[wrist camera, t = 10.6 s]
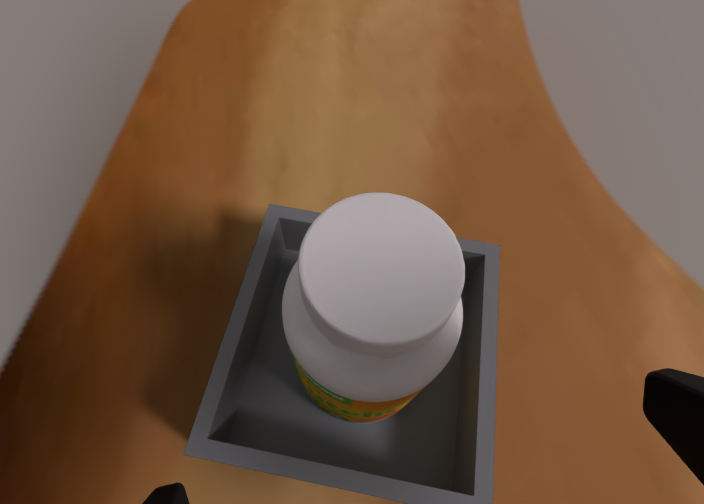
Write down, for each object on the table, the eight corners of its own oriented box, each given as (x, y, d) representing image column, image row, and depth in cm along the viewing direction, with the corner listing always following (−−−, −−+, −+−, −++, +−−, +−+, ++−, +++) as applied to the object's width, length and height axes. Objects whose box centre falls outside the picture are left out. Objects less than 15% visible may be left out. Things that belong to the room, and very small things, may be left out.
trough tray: (462, 512, 16) (492, 522, 13) (211, 457, 17) (183, 454, 14) (475, 278, 21) (499, 245, 18) (278, 242, 22) (269, 203, 19)
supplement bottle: (280, 404, 17) (228, 339, 9) (318, 289, 20) (306, 149, 11) (407, 441, 17) (483, 410, 8) (430, 318, 19) (507, 195, 11)
